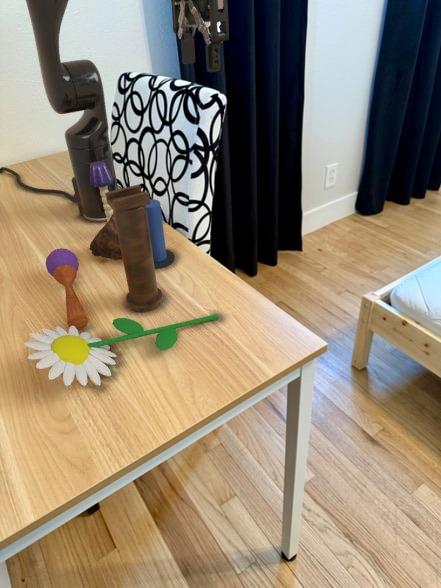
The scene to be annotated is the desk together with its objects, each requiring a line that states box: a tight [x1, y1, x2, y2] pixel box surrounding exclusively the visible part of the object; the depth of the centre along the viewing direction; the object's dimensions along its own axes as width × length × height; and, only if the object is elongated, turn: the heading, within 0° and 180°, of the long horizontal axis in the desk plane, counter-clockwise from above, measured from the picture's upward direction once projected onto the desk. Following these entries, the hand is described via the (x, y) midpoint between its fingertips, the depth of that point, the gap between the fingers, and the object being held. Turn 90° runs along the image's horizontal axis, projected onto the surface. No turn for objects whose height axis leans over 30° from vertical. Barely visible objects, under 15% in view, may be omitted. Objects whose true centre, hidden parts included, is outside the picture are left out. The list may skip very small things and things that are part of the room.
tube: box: [146, 198, 167, 262], centre depth 84 cm, size 12×4×4 cm
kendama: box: [45, 247, 89, 331], centre depth 77 cm, size 6×6×20 cm
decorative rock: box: [88, 213, 123, 261], centre depth 86 cm, size 12×6×11 cm, turn 79°
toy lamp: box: [90, 161, 113, 223], centre depth 91 cm, size 5×5×17 cm
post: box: [105, 184, 164, 313], centre depth 71 cm, size 6×6×21 cm
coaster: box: [154, 249, 176, 270], centre depth 88 cm, size 7×7×1 cm
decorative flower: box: [23, 313, 220, 387], centre depth 67 cm, size 13×5×30 cm
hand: (200, 67), depth 72 cm, fingers open, 8 cm apart
